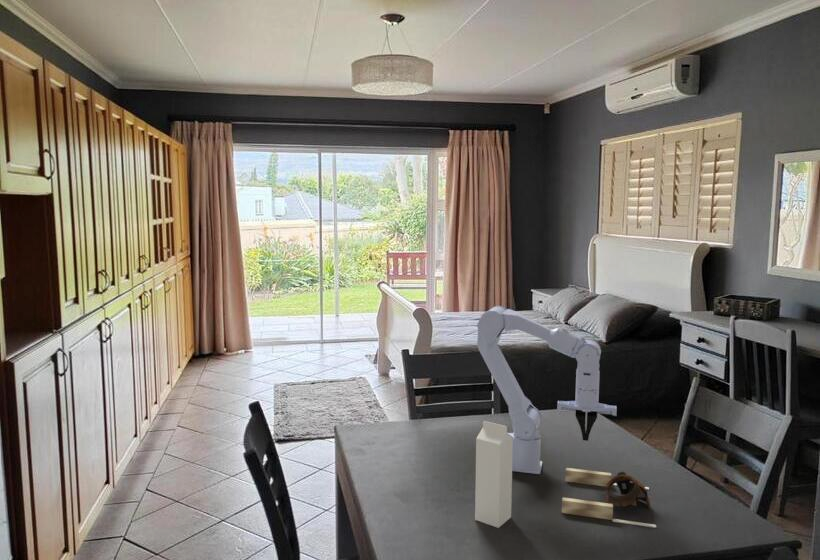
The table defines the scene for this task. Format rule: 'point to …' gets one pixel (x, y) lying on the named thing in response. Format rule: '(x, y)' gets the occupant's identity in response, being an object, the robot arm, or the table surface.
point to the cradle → (582, 505)
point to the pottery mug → (626, 491)
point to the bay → (632, 521)
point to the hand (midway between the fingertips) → (585, 439)
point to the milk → (493, 474)
